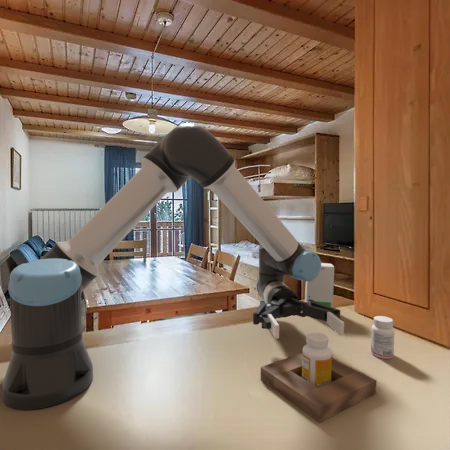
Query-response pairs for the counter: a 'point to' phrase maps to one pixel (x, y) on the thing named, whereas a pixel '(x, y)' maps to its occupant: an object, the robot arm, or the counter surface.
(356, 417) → the counter surface
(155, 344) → the counter surface
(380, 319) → the pill bottle
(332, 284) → the skincare box
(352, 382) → the socket block
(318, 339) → the supplement bottle
